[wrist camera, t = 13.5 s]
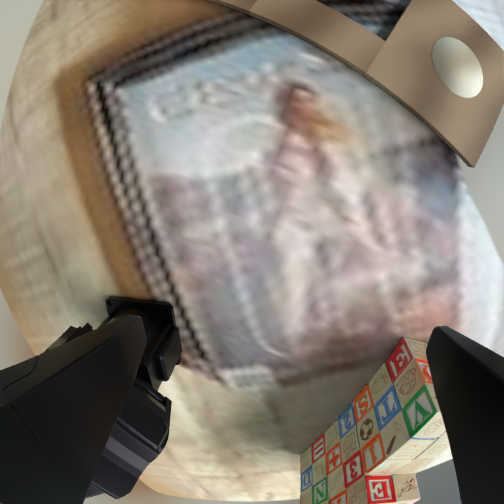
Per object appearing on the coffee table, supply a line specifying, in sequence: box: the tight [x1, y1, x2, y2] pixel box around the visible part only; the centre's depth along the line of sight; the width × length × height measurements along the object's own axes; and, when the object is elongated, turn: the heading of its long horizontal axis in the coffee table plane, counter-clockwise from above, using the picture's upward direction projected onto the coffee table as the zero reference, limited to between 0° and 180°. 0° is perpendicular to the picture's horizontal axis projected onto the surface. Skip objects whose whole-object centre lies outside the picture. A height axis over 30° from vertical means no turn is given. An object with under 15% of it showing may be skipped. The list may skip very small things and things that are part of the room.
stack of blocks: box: [300, 337, 450, 504], centre depth 21 cm, size 21×6×12 cm, turn 161°
